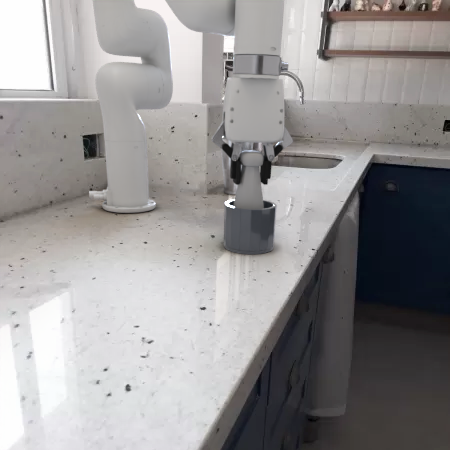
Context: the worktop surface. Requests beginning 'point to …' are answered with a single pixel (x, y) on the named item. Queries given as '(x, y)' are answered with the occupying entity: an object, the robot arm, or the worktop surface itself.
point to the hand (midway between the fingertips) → (250, 182)
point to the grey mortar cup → (249, 228)
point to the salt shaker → (250, 181)
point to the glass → (226, 164)
